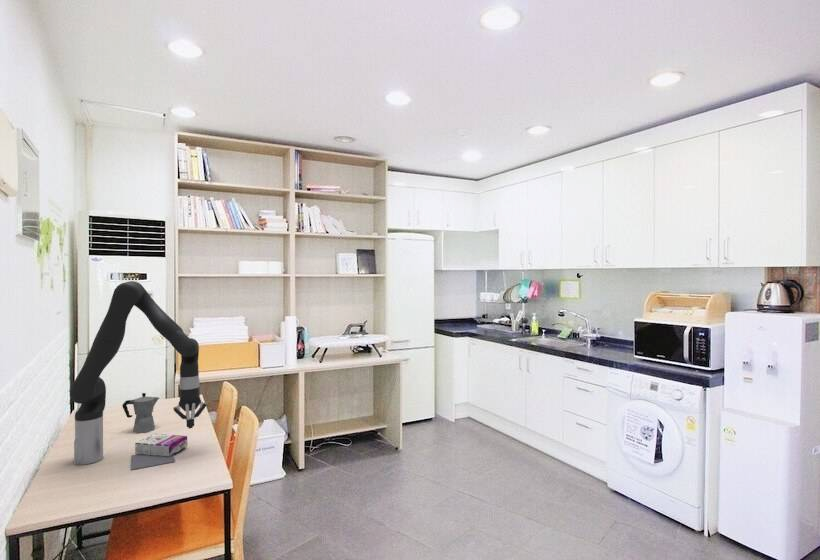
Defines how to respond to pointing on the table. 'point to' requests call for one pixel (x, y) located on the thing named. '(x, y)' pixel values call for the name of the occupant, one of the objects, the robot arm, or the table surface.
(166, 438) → the candy bar box
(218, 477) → the table surface
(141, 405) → the coffeepot
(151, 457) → the mat
